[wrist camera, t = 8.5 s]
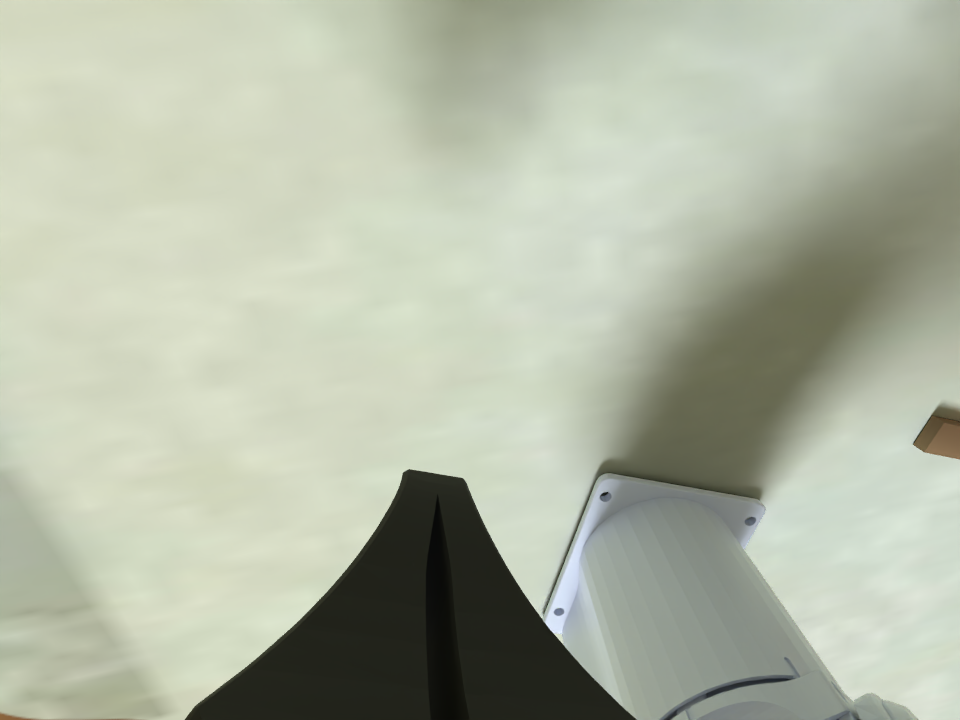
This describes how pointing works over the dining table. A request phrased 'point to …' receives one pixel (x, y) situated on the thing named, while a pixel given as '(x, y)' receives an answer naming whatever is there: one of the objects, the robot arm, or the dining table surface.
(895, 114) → the dining table surface
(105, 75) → the dining table surface
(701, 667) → the robot arm
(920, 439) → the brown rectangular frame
